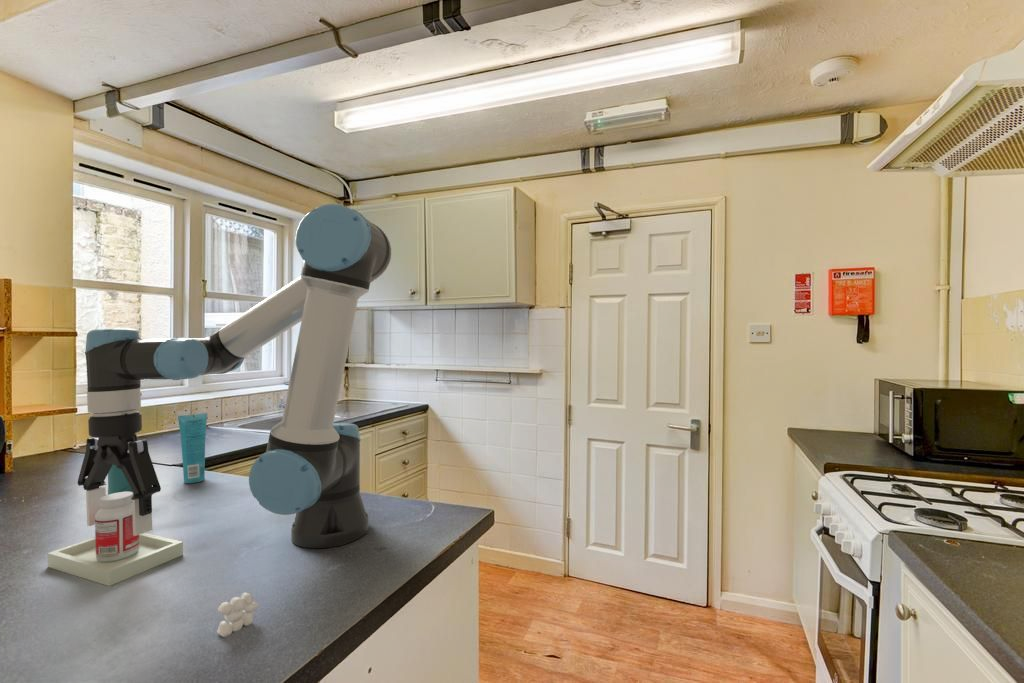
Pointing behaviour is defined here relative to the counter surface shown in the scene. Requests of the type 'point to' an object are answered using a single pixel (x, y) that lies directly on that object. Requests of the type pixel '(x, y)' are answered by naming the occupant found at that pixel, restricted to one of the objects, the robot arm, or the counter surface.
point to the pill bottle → (115, 528)
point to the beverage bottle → (118, 480)
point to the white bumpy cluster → (236, 614)
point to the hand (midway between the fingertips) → (119, 527)
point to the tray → (85, 564)
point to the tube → (193, 446)
